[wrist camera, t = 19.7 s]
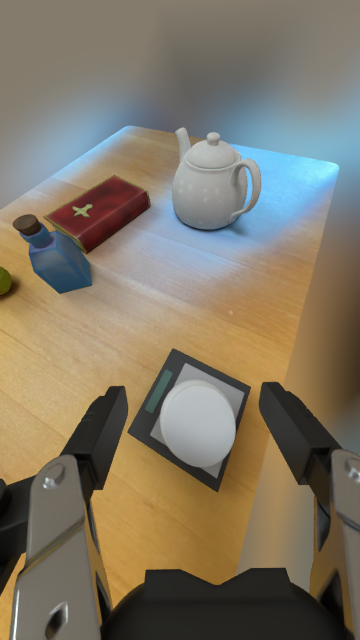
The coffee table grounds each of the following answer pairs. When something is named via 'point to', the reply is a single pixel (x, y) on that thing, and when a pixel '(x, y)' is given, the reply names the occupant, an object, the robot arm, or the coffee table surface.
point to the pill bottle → (198, 423)
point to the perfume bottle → (54, 256)
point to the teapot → (212, 182)
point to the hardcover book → (99, 212)
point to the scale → (149, 414)
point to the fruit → (4, 281)
